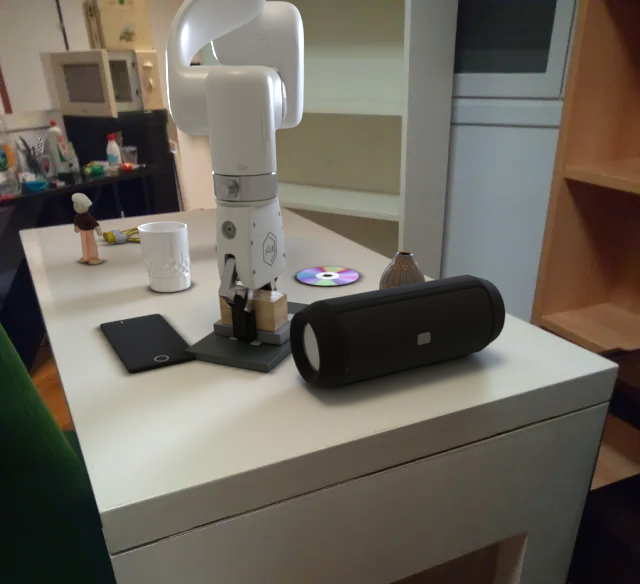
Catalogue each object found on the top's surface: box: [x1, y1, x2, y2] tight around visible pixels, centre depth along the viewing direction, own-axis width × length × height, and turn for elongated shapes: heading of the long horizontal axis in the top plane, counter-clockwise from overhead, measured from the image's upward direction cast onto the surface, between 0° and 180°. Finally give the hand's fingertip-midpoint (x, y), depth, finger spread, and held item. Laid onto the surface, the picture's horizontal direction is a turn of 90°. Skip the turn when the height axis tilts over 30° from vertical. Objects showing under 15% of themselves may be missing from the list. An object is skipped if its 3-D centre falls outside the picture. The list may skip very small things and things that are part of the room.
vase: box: [378, 250, 426, 290], centre depth 88 cm, size 7×7×9 cm
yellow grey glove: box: [102, 226, 141, 244], centre depth 132 cm, size 12×16×2 cm
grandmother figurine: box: [71, 192, 103, 266], centre depth 112 cm, size 8×4×13 cm, turn 68°
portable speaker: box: [290, 274, 506, 388], centre depth 71 cm, size 26×10×10 cm, turn 117°
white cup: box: [137, 220, 192, 293], centre depth 99 cm, size 8×8×10 cm
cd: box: [296, 266, 360, 287], centre depth 106 cm, size 11×11×1 cm
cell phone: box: [99, 313, 197, 375], centre depth 81 cm, size 9×18×1 cm, turn 29°
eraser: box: [213, 289, 291, 345], centre depth 79 cm, size 10×5×6 cm, turn 67°
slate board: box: [185, 300, 311, 373], centre depth 83 cm, size 22×12×1 cm, turn 157°
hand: (255, 329), depth 80 cm, fingers closed on eraser, 5 cm apart
